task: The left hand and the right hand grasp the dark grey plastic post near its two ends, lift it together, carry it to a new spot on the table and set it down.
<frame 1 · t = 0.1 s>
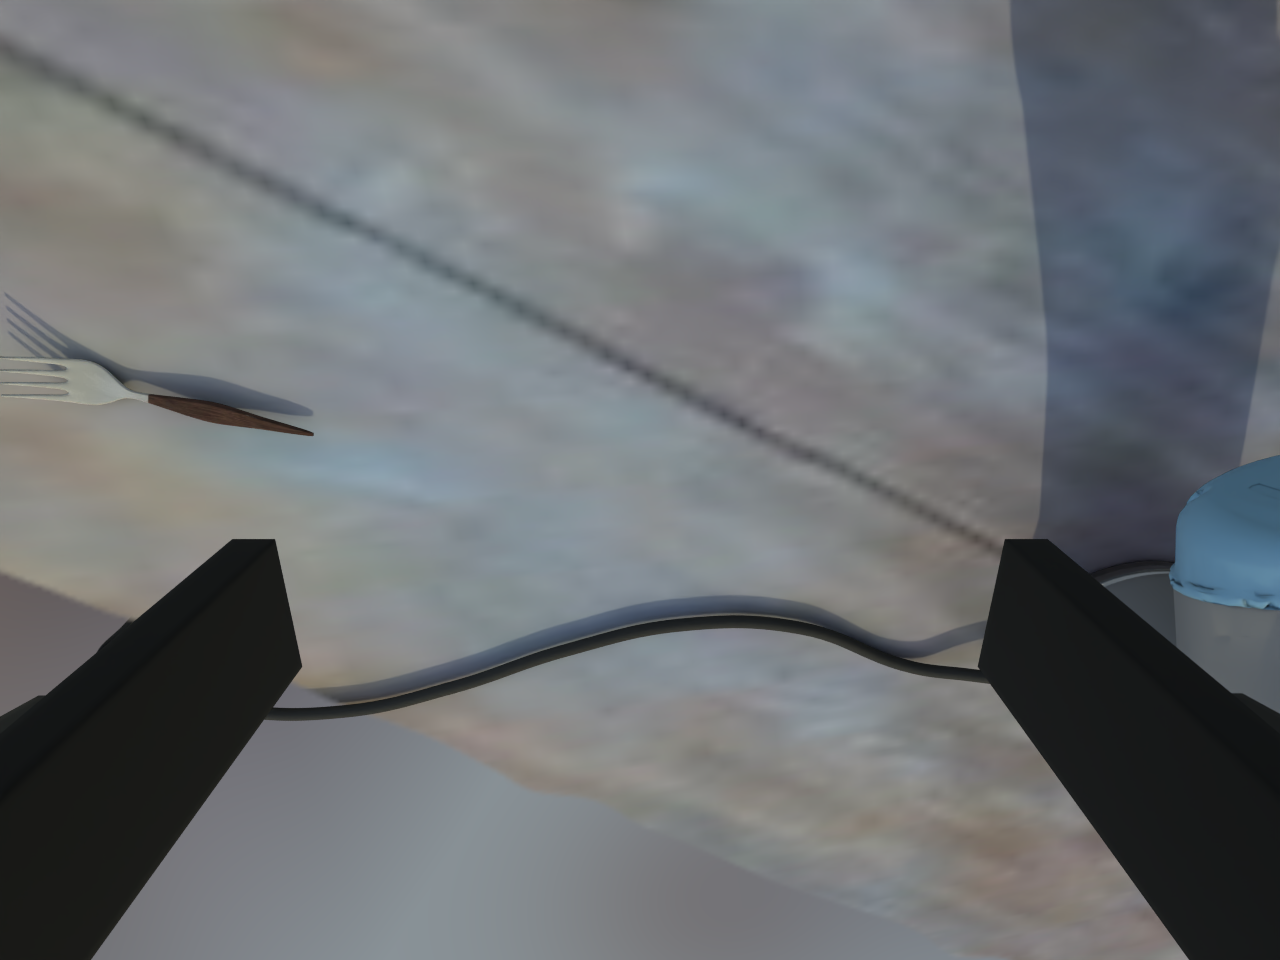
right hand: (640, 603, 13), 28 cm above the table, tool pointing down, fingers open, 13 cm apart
fork: (177, 399, 40), on the table
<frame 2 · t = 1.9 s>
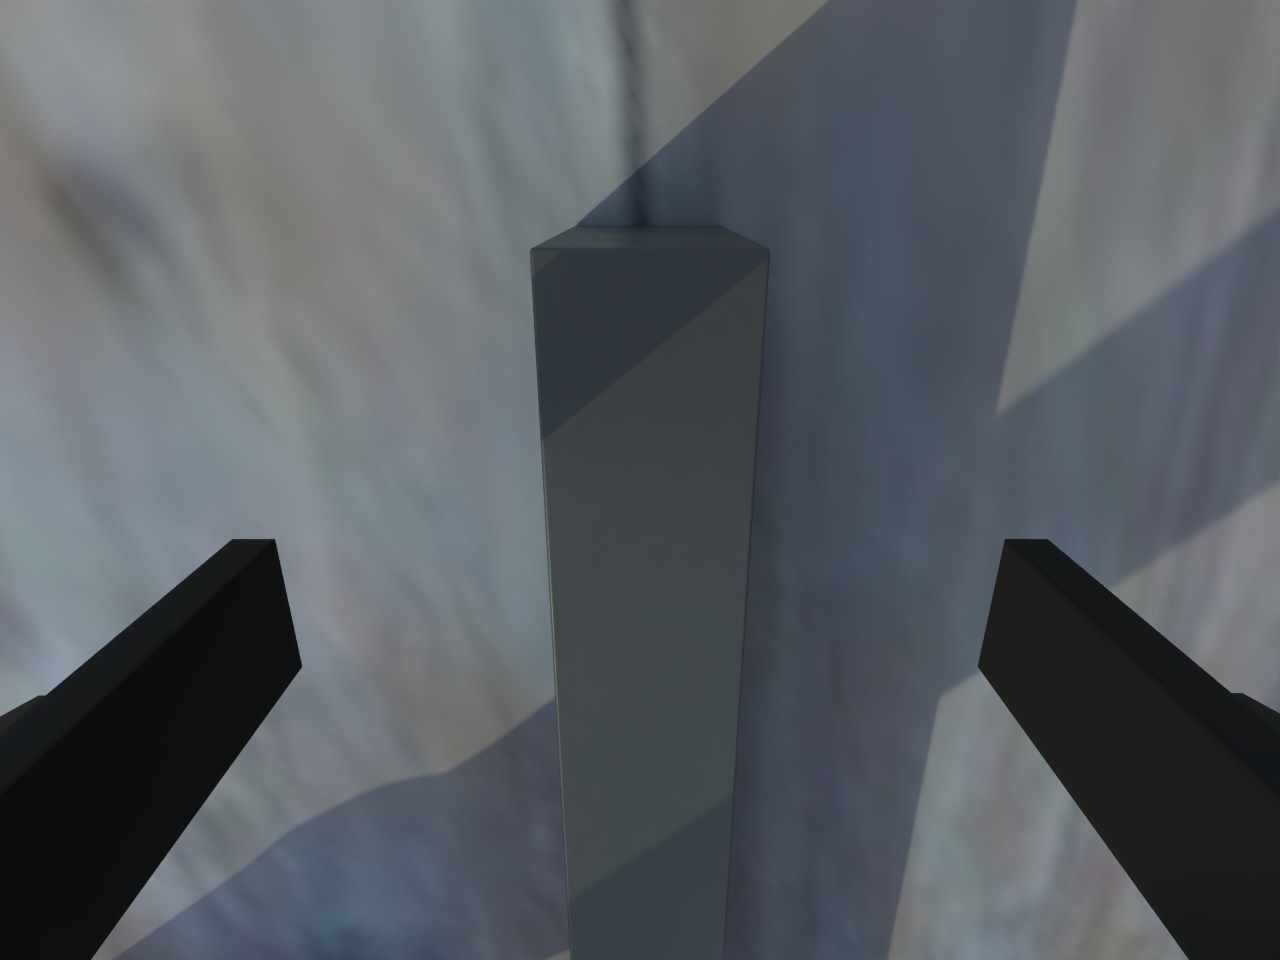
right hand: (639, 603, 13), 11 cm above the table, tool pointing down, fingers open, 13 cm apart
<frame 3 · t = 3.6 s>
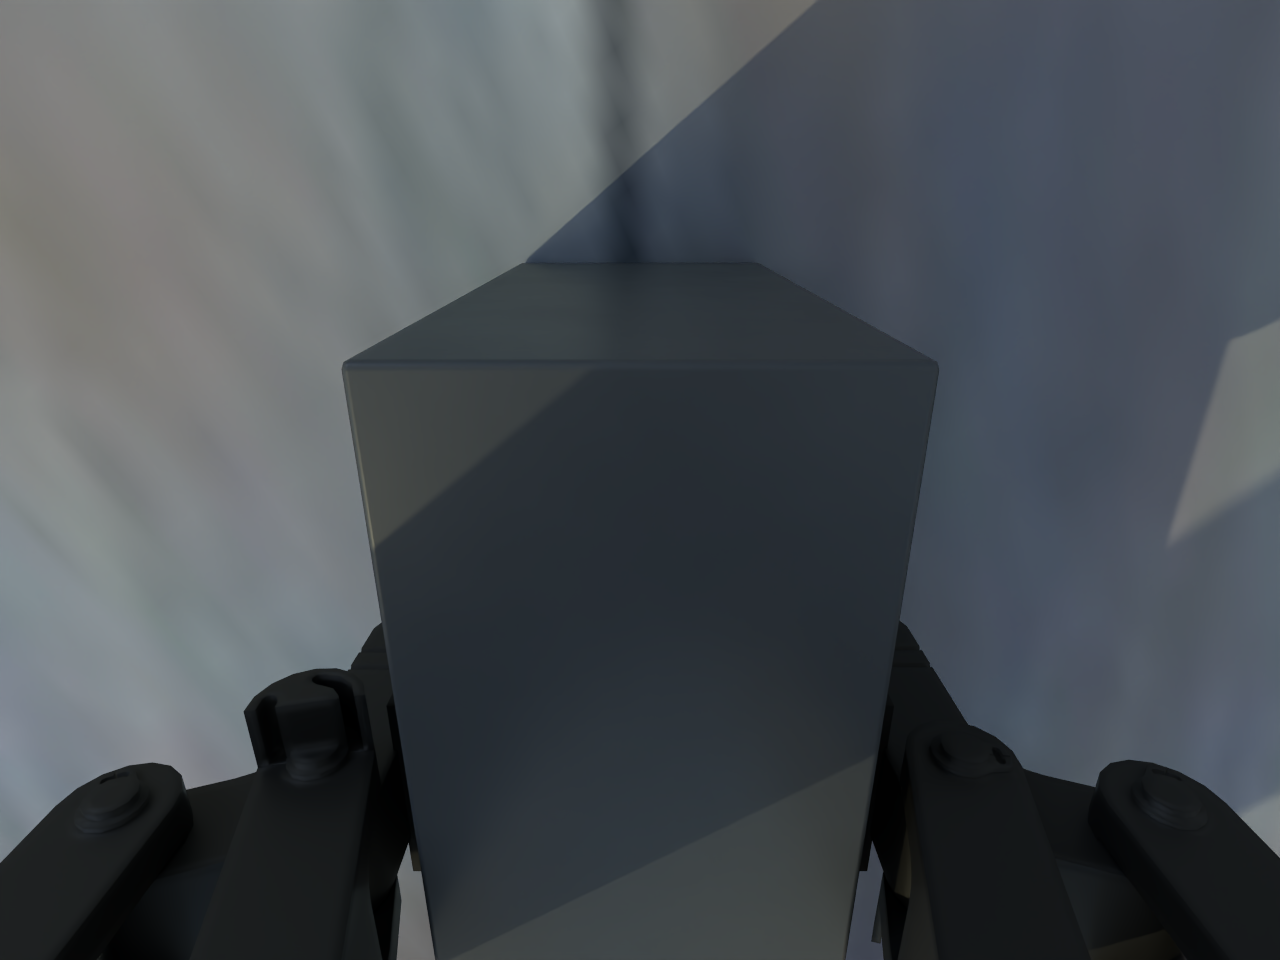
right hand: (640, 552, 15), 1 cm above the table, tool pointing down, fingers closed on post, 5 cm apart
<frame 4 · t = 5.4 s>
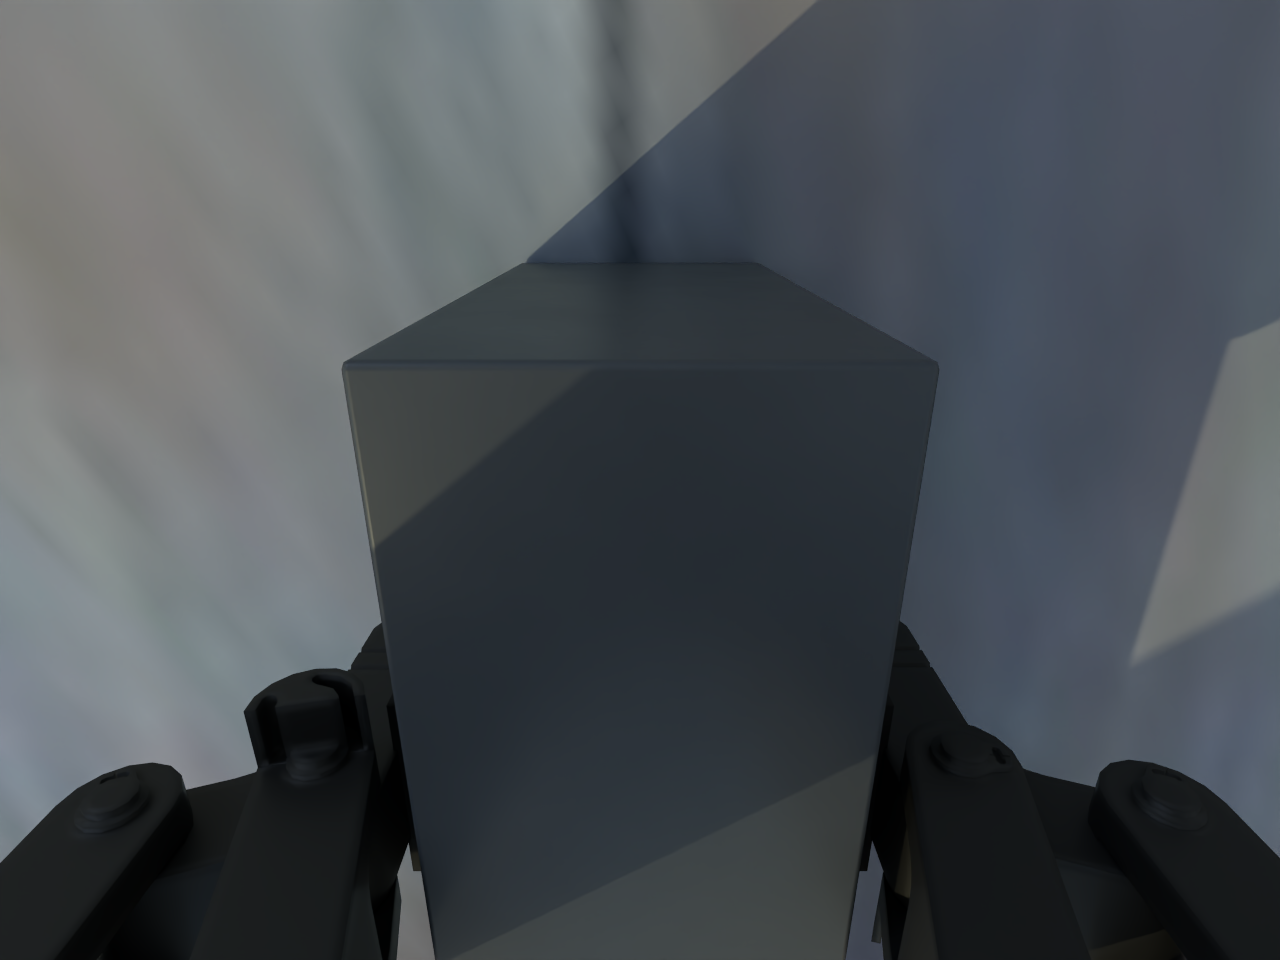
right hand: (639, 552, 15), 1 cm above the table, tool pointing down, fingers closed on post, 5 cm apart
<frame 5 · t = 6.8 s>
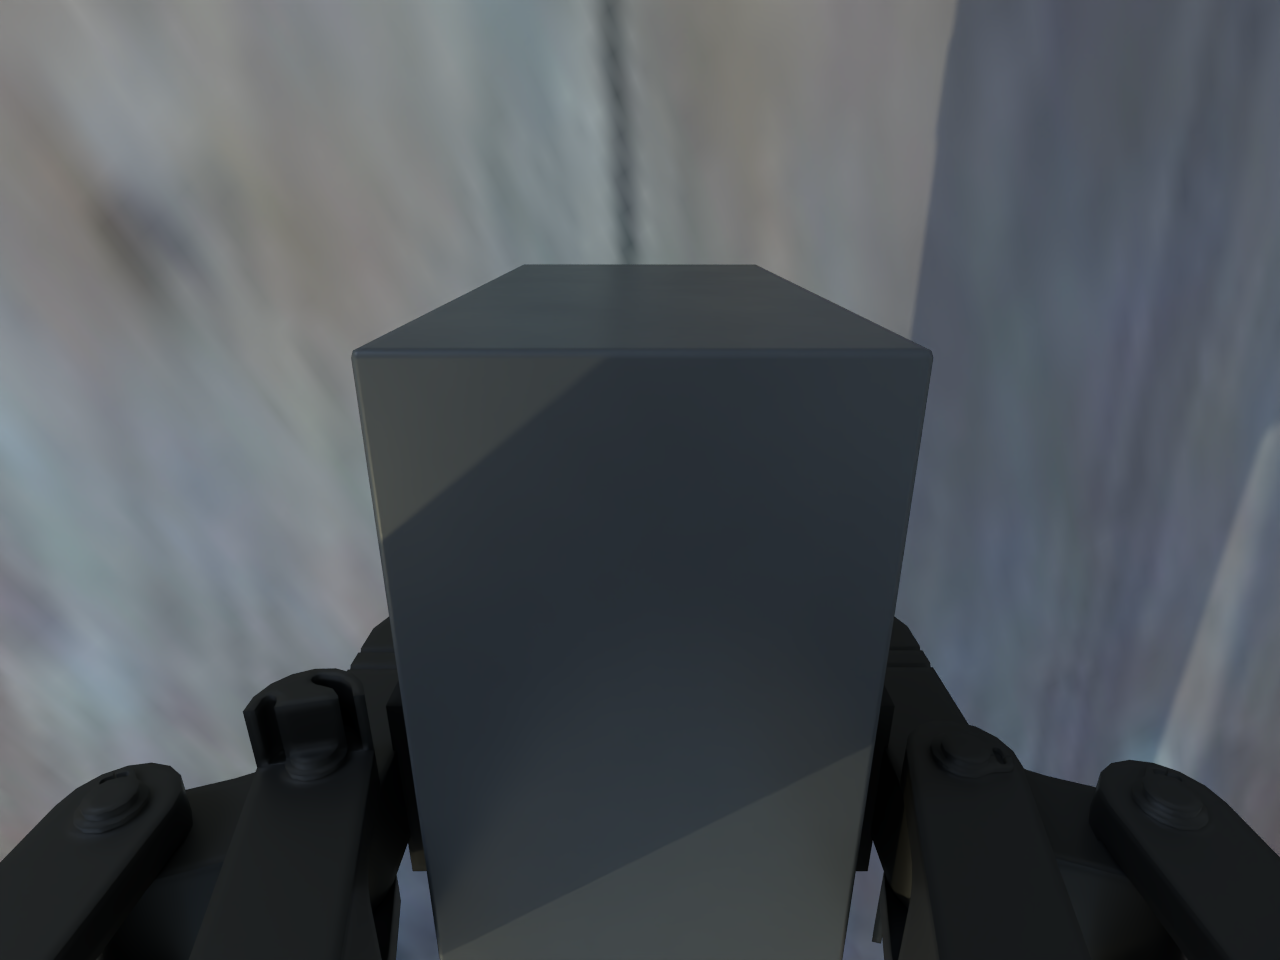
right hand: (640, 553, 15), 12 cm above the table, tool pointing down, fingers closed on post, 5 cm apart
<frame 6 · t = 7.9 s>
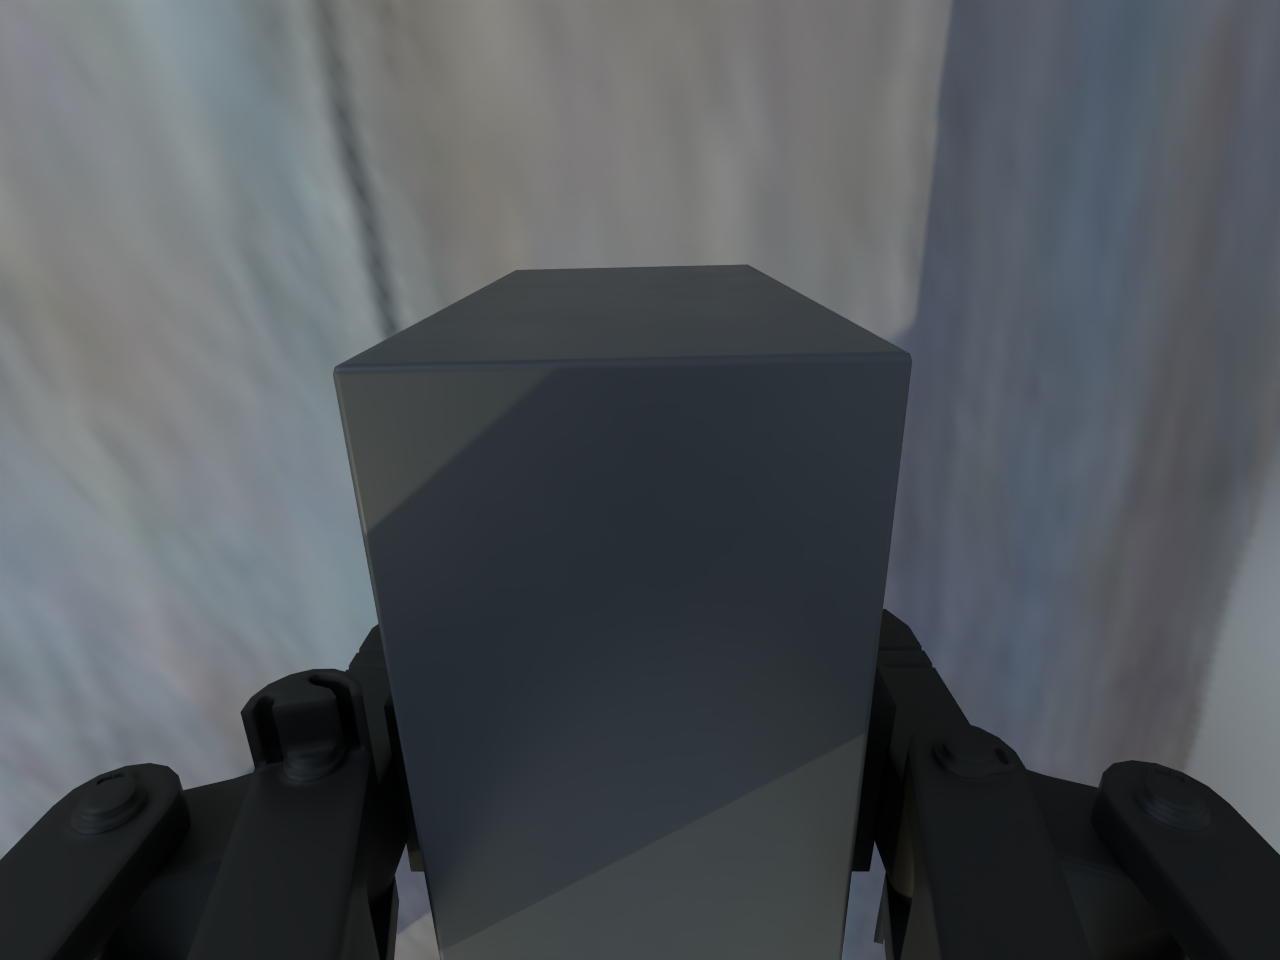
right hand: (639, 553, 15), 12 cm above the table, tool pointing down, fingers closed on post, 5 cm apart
when the left hand's fingers open (2 cm above the table, at t = 10.5 s): post stays where it is, on the table.
when the right hand's fingers open (2 cm above the table, at t = 10.5 s): post stays where it is, on the table.
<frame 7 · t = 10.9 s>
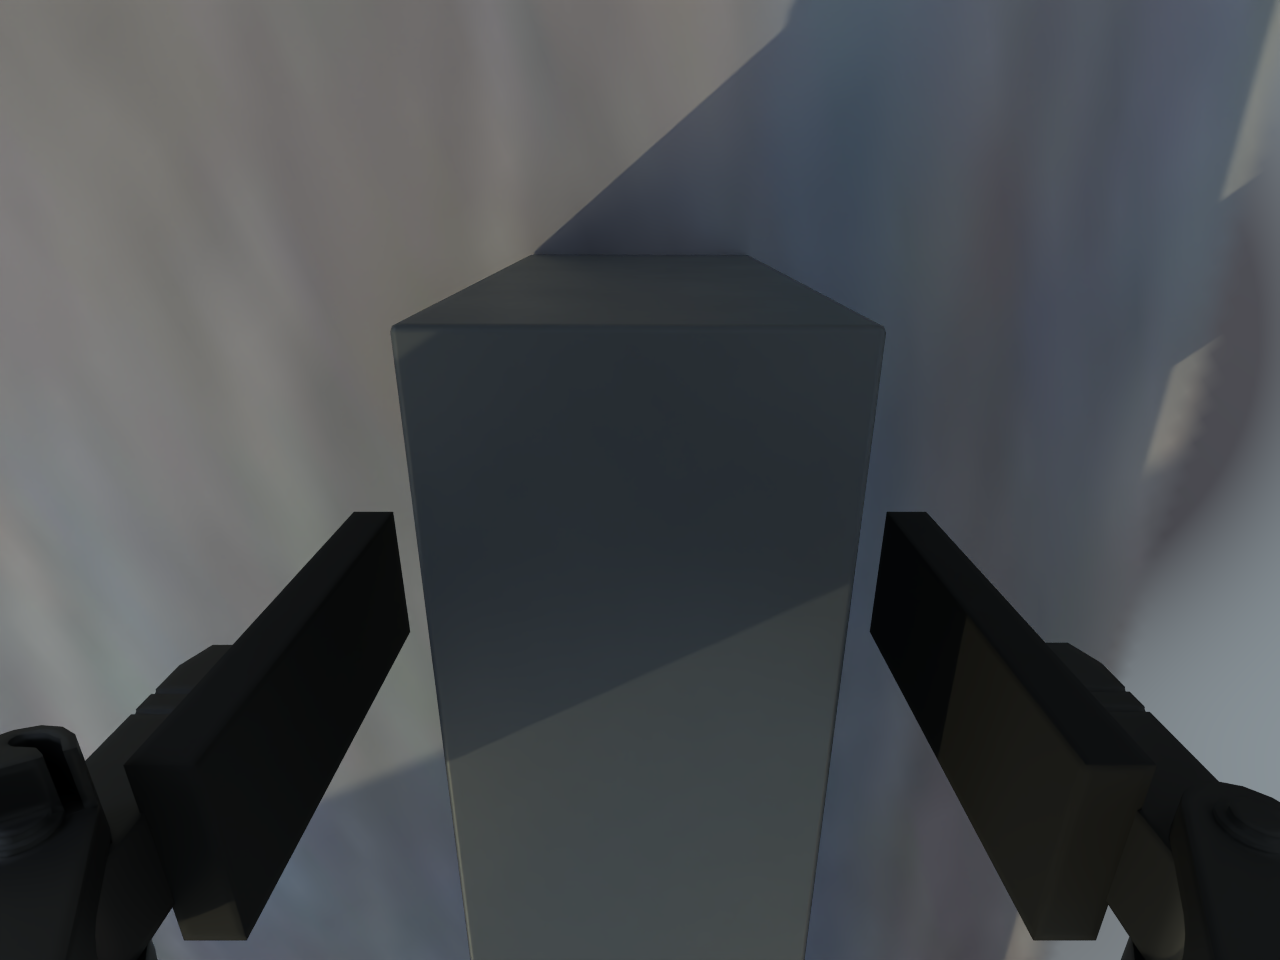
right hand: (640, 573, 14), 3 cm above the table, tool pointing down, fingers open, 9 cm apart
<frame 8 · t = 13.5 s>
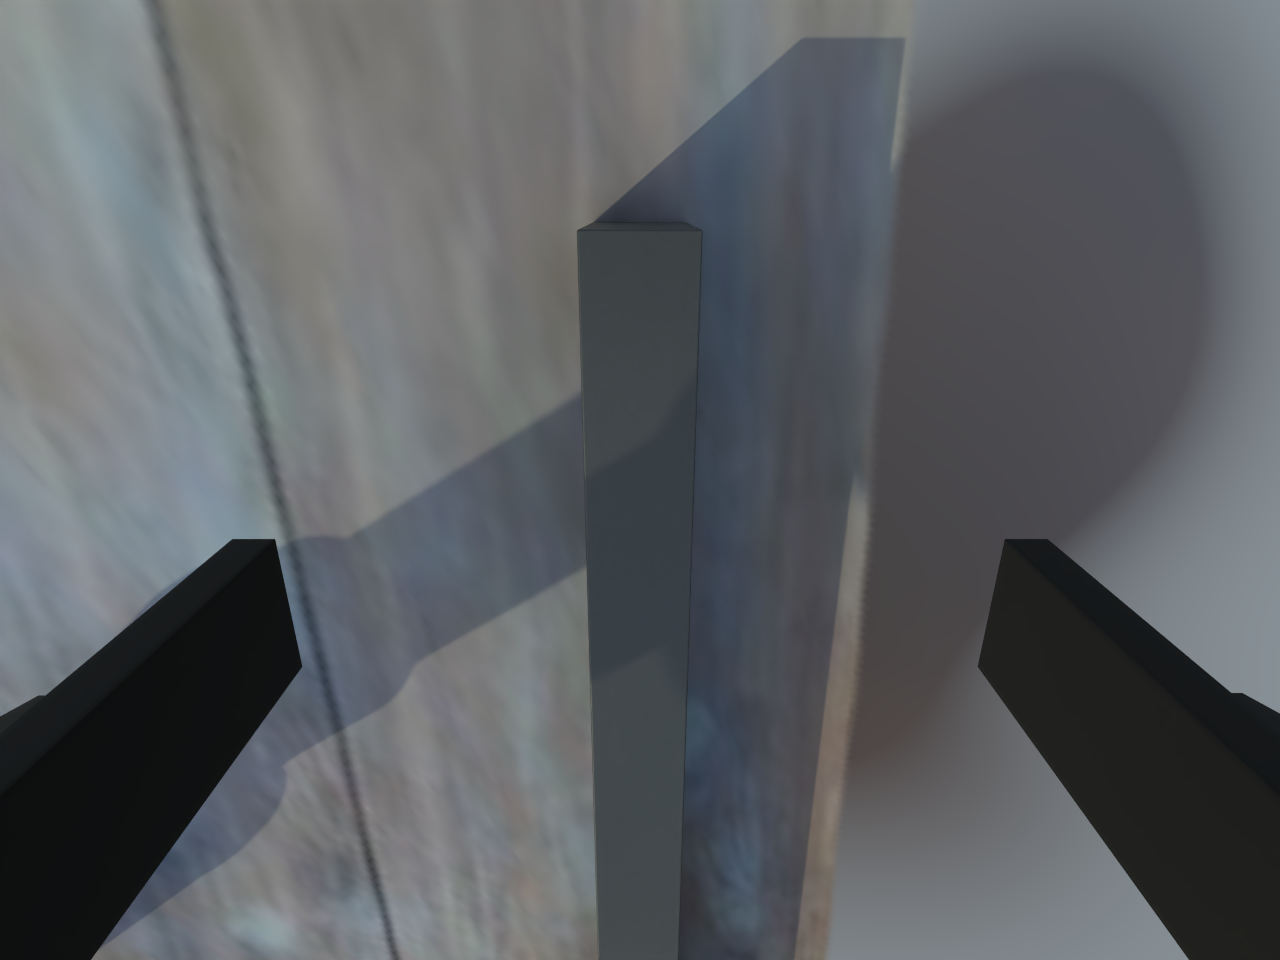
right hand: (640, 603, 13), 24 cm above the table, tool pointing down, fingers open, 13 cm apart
post: (638, 863, 49), on the table
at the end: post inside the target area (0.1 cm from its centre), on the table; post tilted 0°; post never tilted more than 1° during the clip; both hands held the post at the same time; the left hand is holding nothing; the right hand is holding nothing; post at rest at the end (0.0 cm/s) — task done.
